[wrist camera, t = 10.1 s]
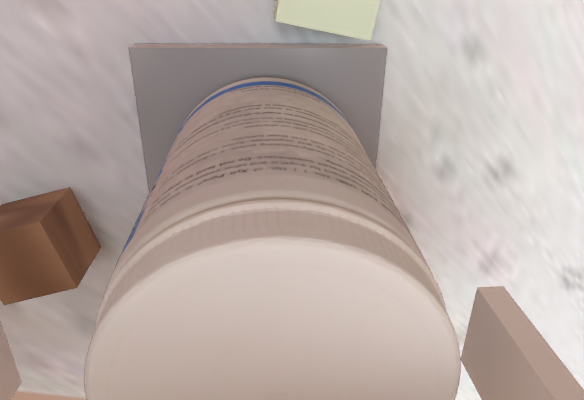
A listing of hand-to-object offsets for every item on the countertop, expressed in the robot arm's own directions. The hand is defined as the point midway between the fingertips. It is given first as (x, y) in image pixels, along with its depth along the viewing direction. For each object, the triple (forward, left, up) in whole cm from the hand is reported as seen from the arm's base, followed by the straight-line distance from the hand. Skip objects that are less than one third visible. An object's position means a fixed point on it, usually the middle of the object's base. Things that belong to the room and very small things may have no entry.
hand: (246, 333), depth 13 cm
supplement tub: (+1, 0, -13) cm, 13 cm away
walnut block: (-12, -4, -14) cm, 19 cm away
